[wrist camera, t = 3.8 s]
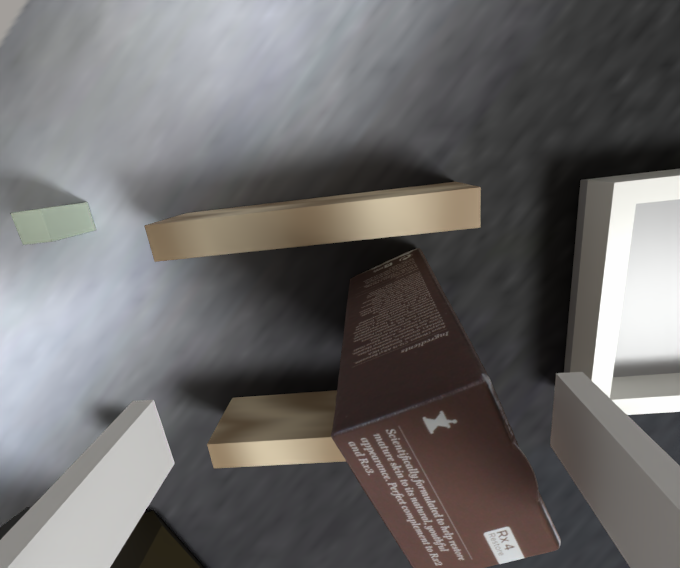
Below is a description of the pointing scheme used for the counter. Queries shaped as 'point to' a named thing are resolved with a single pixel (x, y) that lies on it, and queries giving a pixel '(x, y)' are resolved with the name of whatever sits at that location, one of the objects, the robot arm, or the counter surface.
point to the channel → (293, 231)
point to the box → (431, 427)
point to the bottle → (154, 547)
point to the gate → (53, 223)
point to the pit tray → (628, 290)
